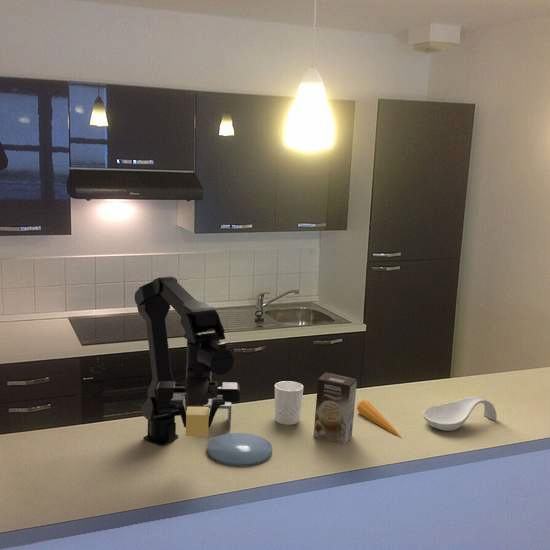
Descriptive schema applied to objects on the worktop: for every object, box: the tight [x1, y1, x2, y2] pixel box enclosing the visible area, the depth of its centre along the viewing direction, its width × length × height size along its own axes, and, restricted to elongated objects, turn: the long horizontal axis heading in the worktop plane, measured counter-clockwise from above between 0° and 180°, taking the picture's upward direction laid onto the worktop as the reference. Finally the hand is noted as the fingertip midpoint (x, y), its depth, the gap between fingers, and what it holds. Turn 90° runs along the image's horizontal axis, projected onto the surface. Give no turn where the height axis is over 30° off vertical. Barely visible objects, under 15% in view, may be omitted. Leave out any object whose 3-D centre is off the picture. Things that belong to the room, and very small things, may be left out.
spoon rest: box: [422, 395, 497, 432], centre depth 191 cm, size 24×12×7 cm, turn 118°
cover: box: [202, 399, 232, 430], centre depth 182 cm, size 7×7×7 cm
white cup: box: [274, 380, 304, 426], centre depth 187 cm, size 8×8×10 cm
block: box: [185, 406, 210, 437], centre depth 155 cm, size 5×5×5 cm
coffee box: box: [313, 372, 358, 445], centre depth 177 cm, size 9×6×16 cm
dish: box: [206, 432, 273, 467], centre depth 167 cm, size 16×16×1 cm
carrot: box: [356, 399, 403, 439], centre depth 188 cm, size 20×4×4 cm, turn 27°
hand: (197, 427), depth 155 cm, fingers closed on block, 5 cm apart
